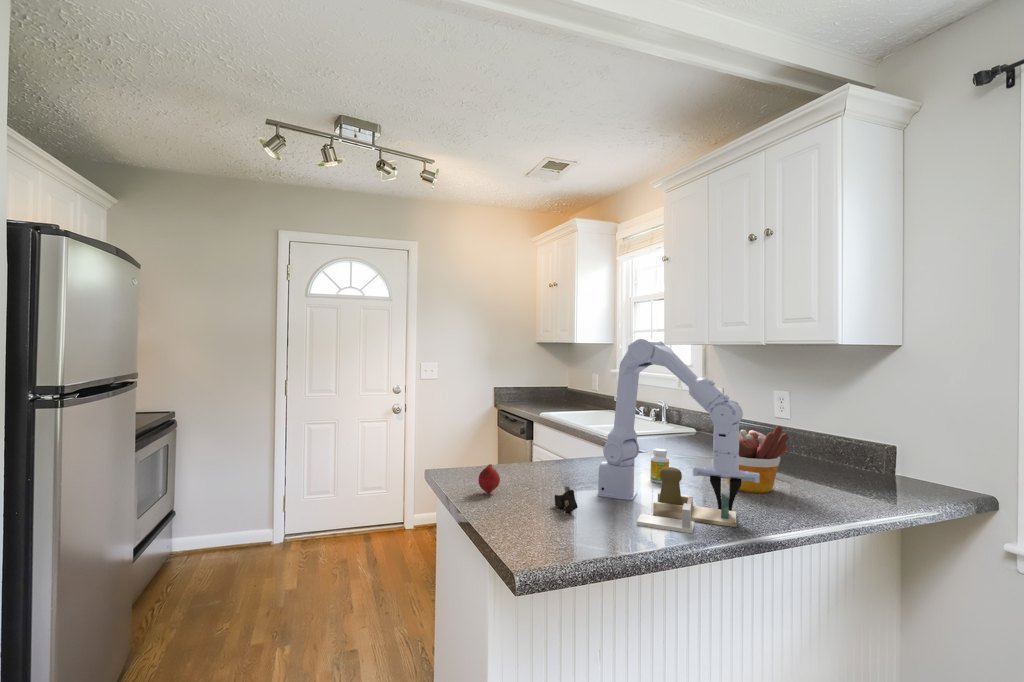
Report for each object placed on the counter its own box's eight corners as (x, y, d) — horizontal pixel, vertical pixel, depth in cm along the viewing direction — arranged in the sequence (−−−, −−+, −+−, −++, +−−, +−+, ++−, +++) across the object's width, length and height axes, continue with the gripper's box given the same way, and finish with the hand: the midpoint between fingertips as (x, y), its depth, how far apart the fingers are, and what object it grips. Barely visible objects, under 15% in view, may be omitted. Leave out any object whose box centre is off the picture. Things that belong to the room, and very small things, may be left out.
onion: (489, 497, 134) (490, 467, 134) (473, 493, 138) (474, 464, 138) (503, 493, 139) (504, 463, 139) (487, 489, 142) (488, 460, 143)
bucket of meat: (705, 482, 156) (706, 418, 157) (743, 478, 163) (744, 416, 163) (760, 501, 138) (762, 427, 138) (801, 495, 145) (802, 425, 145)
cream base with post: (636, 524, 115) (637, 503, 115) (640, 517, 121) (641, 497, 121) (692, 533, 111) (693, 511, 111) (694, 525, 116) (694, 504, 116)
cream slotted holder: (653, 515, 123) (653, 491, 123) (657, 504, 132) (658, 481, 132) (736, 527, 115) (737, 501, 116) (735, 514, 125) (736, 491, 125)
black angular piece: (555, 518, 127) (550, 496, 130) (563, 517, 128) (558, 495, 131) (569, 508, 120) (564, 484, 123) (578, 507, 121) (572, 484, 124)
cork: (679, 509, 129) (680, 465, 129) (685, 517, 123) (686, 471, 123) (655, 508, 129) (656, 464, 129) (660, 515, 123) (660, 470, 123)
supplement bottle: (656, 483, 153) (657, 451, 154) (647, 479, 159) (647, 448, 159) (672, 483, 155) (672, 451, 155) (662, 478, 160) (662, 447, 160)
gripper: (692, 451, 120) (691, 509, 120) (760, 458, 115) (759, 518, 115) (694, 446, 127) (693, 501, 127) (758, 452, 121) (757, 509, 121)
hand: (724, 509), depth 121 cm, fingers closed on cream slotted holder, 2 cm apart
